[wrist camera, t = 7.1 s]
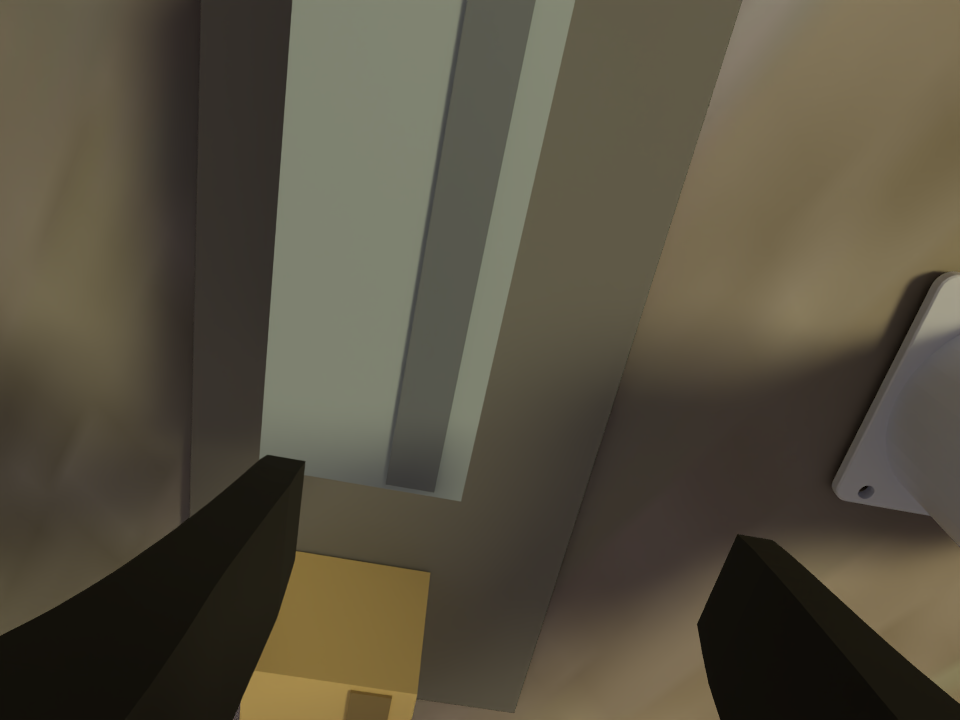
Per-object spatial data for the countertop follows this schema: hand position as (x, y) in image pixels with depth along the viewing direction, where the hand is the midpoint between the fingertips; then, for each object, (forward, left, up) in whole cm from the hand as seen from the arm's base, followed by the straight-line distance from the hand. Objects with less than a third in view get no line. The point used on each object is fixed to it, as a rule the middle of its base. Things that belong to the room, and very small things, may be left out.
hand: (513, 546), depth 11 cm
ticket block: (+3, -3, -10) cm, 11 cm away
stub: (+3, +13, -10) cm, 17 cm away
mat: (+3, +4, -10) cm, 11 cm away
